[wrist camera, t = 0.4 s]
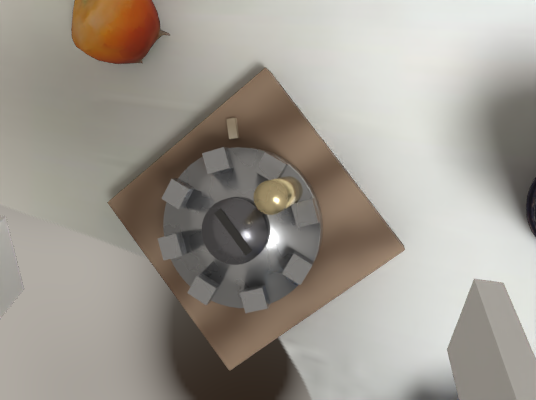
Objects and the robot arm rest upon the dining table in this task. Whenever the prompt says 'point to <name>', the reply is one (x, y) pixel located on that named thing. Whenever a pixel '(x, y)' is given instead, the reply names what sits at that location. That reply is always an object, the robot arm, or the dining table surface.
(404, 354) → the dining table surface
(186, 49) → the dining table surface
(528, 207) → the storage jar
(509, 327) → the robot arm
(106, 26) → the fruit
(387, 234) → the base plate
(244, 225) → the crank wheel
